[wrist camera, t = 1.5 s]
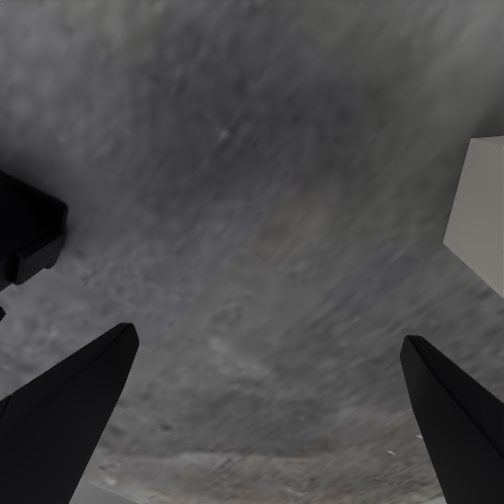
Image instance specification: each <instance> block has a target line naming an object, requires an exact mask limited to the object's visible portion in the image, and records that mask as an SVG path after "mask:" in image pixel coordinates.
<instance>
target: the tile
mask: <svg viewBox="0 0 504 504" xmlns="http://www.w3.org/2000/svg"><path fill="white" fill-rule="evenodd" d="M443 243H444V244H445V245H446V246H447V247H448V248H449V249H450V250H451V251H452V252H453V253H454V254H456V255H457V256H458V257H459V258H460V259H461V260H462V261H463V262H464V263H465V264H466V265H468V266H469V267H470V268H471V269H472V270H473V271H474V272H475V273H476V274H477V275H478V276H479V277H481V278H482V279H483V280H484V281H485V282H486V283H487V284H488V285H489V286H490V287H491V288H493V289H494V290H495V291H496V292H497V293H498V294H499V295H500V296H501V297H502V298H503V299H504V136H495V137H481V138H471V139H470V143H469V146H468V150H467V154H466V158H465V161H464V165H463V169H462V173H461V176H460V180H459V184H458V188H457V191H456V195H455V199H454V203H453V206H452V210H451V214H450V218H449V221H448V225H447V229H446V233H445V236H444V240H443Z"/></svg>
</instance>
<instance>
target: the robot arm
mask: <svg viewBox="0 0 504 504" xmlns="http://www.w3.org/2000/svg"><path fill="white" fill-rule="evenodd" d="M57 207H58V208H59V209H60V211H59V210H58V208H57ZM66 215H67V207H66V206H65V205H64V204H63V203H62V202H60V201H58V200H56V199H54V198H52V197H50V196H48V195H46V194H44V193H42V192H40V191H38V190H36V189H34V188H32V187H30V186H28V185H26V184H24V183H22V182H20V181H18V180H16V179H14V178H12V177H10V176H8V175H6V174H4V173H2V172H0V292H1V291H2V290H4V289H5V288H6V287H8V286H9V285H11V284H14V285H21V284H23V283H24V282H26V281H27V280H28V279H30V278H31V277H32V276H34V275H35V274H36V273H38V272H39V271H40V270H42V269H43V268H46V269H50V268H51V267H53V266H54V265H55V261H56V259H57V258H58V257H59V254H60V250H61V246H62V242H63V237H64V232H63V228H64V223H65V219H66ZM5 315H6V313H5V311H4V309H3V308H2V307H0V321H1V320H2V319H3V317H4V316H5ZM138 347H139V338H138V335H137V332H136V329H135V326H134V325H133V324H132V323H120V324H118V325H116V326H115V327H113V328H112V329H110V330H109V331H107V332H106V333H104V334H103V335H101V336H99V337H98V338H96V339H95V340H93V341H92V342H90V343H89V344H87V345H86V346H84V347H83V348H81V349H80V350H78V351H76V352H75V353H73V354H72V355H70V356H69V357H67V358H66V359H64V360H63V361H61V362H60V363H58V364H57V365H55V366H53V367H52V368H50V369H49V370H47V371H46V372H44V373H43V374H41V375H40V376H38V377H37V378H35V379H34V380H32V381H30V382H29V383H27V384H26V385H24V386H23V387H21V388H20V389H18V390H17V391H15V392H14V393H12V395H9V396H7V397H6V398H4V399H3V400H1V401H0V504H69V502H70V500H71V498H72V496H73V494H74V491H75V489H76V487H77V485H78V483H79V481H80V479H81V477H82V475H83V473H84V470H85V468H86V466H87V464H88V462H89V460H90V458H91V456H92V454H93V452H94V449H95V447H96V445H97V443H98V441H99V439H100V437H101V435H102V433H103V431H104V428H105V426H106V424H107V422H108V420H109V418H110V416H111V414H112V412H113V410H114V407H115V405H116V403H117V401H118V399H119V397H120V395H121V393H122V390H123V388H124V386H125V383H126V380H127V378H128V375H129V372H130V369H131V367H132V364H133V361H134V358H135V355H136V353H137V350H138ZM400 361H401V365H402V369H403V373H404V377H405V381H406V385H407V389H408V393H409V397H410V401H411V405H412V409H413V412H414V415H415V418H416V420H417V423H418V426H419V429H420V431H421V434H422V437H423V440H424V442H425V445H426V448H427V450H428V453H429V456H430V459H431V461H432V464H433V467H434V470H435V472H436V475H437V478H438V480H439V483H440V486H441V489H442V491H443V494H444V497H445V500H446V502H447V504H504V403H503V402H501V401H500V400H499V399H498V398H496V397H495V396H494V395H493V394H492V393H490V392H489V391H488V390H487V389H485V388H484V387H483V386H482V385H481V384H479V383H478V382H477V381H476V380H474V379H473V378H472V377H471V376H470V375H468V374H467V373H466V372H465V371H463V370H462V369H461V368H460V367H459V366H457V365H456V364H455V363H454V362H452V361H451V360H450V359H449V358H448V357H446V356H445V355H444V354H443V353H441V352H440V351H439V350H438V349H437V348H435V347H434V346H433V345H432V344H430V343H429V342H428V341H427V340H426V339H424V338H423V337H422V336H419V335H407V336H405V338H404V342H403V345H402V349H401V352H400Z"/></svg>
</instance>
